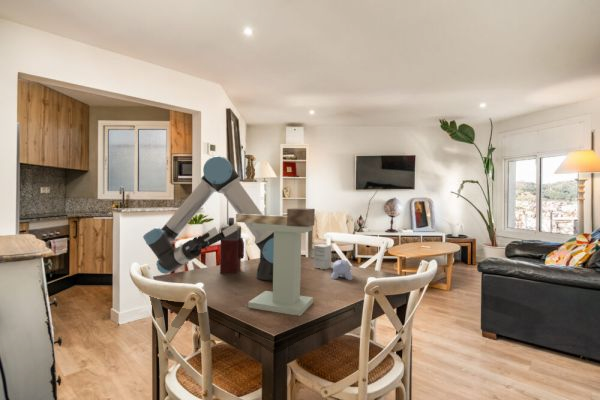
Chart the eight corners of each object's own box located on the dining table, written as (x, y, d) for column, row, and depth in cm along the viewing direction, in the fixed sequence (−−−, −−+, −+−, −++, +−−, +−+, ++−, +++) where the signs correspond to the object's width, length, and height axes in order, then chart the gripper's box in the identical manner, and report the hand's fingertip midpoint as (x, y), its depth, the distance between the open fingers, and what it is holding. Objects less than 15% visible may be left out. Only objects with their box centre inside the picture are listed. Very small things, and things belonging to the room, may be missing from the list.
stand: (248, 307, 114) (249, 224, 113) (265, 295, 127) (266, 221, 126) (300, 316, 107) (302, 227, 106) (312, 302, 120) (314, 224, 119)
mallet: (233, 222, 119) (233, 206, 119) (242, 220, 126) (242, 205, 126) (308, 227, 109) (308, 209, 109) (314, 225, 116) (314, 208, 115)
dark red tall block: (242, 273, 159) (243, 218, 159) (220, 273, 159) (220, 218, 158) (244, 269, 168) (245, 217, 168) (223, 269, 168) (224, 216, 167)
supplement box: (320, 265, 181) (320, 243, 181) (331, 267, 177) (331, 245, 176) (313, 267, 175) (313, 245, 175) (324, 270, 171) (325, 246, 170)
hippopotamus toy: (352, 273, 164) (352, 255, 164) (353, 281, 150) (353, 261, 149) (331, 272, 166) (331, 254, 166) (330, 280, 151) (330, 260, 151)
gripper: (210, 254, 142) (246, 233, 135) (169, 266, 118) (211, 241, 112) (203, 239, 143) (239, 217, 136) (162, 248, 119) (202, 222, 113)
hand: (226, 228), depth 124 cm, fingers open, 13 cm apart
